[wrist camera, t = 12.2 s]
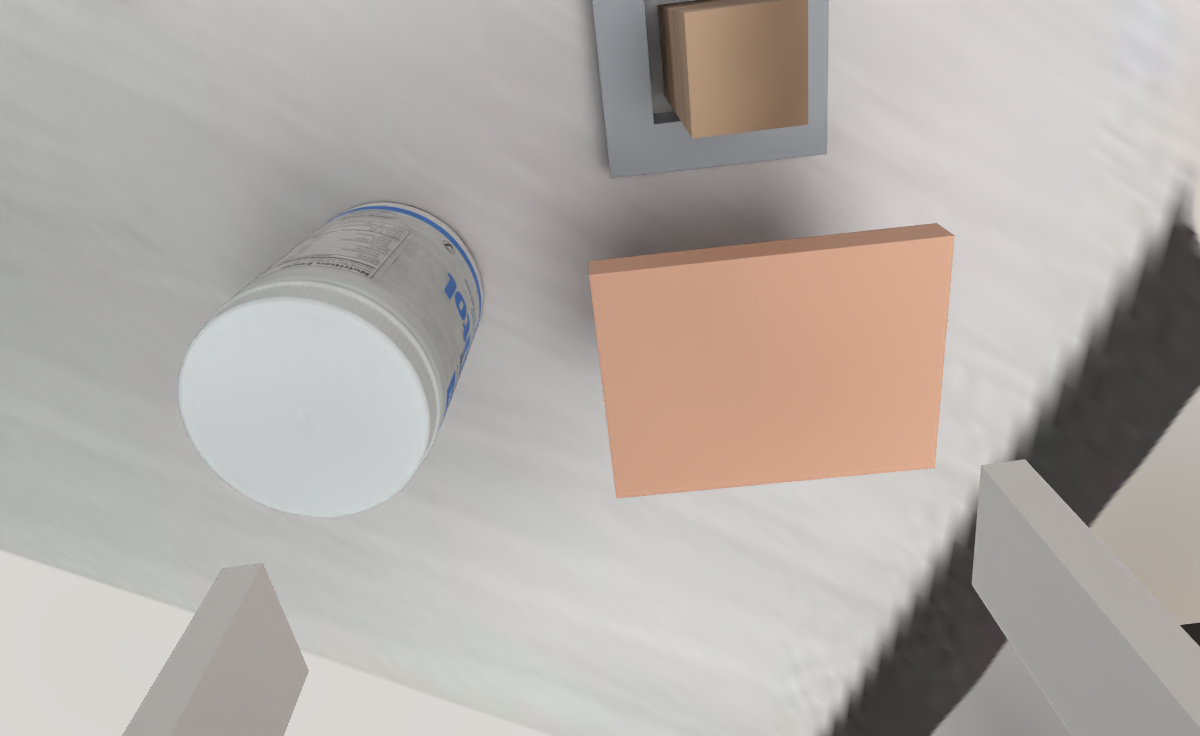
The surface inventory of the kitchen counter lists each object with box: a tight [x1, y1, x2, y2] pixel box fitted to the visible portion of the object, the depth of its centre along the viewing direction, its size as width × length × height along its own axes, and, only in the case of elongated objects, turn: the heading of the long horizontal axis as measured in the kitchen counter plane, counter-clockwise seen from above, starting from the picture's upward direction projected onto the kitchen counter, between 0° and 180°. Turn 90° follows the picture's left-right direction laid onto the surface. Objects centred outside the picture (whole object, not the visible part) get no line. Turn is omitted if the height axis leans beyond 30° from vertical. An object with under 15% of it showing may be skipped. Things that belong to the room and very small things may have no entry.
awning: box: [589, 223, 954, 498], centre depth 35 cm, size 12×9×15 cm
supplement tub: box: [178, 202, 483, 517], centre depth 36 cm, size 10×10×15 cm
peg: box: [658, 0, 808, 139], centre depth 32 cm, size 4×4×12 cm
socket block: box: [592, 0, 829, 178], centre depth 36 cm, size 10×10×3 cm
